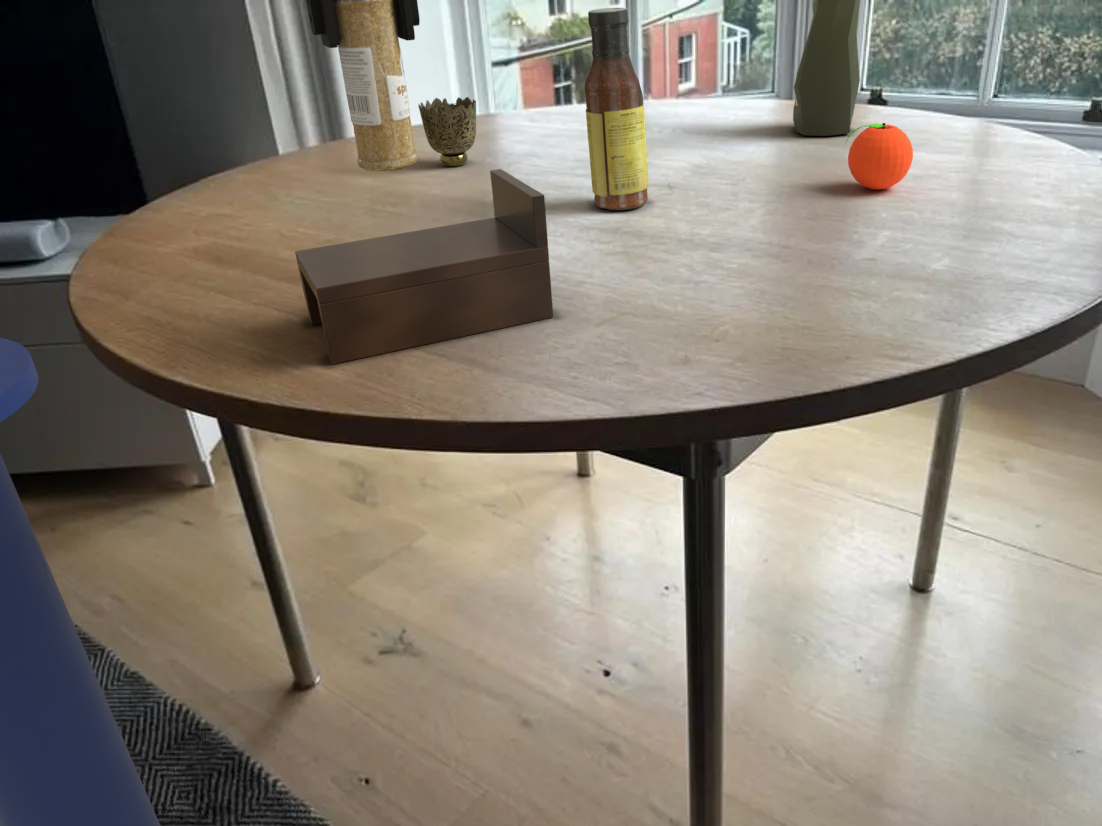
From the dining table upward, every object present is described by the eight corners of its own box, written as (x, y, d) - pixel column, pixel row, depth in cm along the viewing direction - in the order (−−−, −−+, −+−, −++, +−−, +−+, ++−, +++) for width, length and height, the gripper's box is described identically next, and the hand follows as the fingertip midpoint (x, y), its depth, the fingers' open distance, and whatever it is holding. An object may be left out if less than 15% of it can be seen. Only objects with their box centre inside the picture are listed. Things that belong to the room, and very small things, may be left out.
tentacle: (846, 122, 136) (867, -118, 121) (864, 140, 125) (889, -120, 110) (783, 124, 136) (796, -114, 121) (796, 143, 126) (811, -116, 111)
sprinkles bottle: (428, 165, 69) (401, -38, 63) (371, 176, 67) (336, -34, 60) (403, 155, 73) (374, -39, 66) (348, 165, 70) (312, -35, 64)
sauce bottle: (657, 199, 105) (654, 5, 95) (633, 214, 100) (628, 12, 90) (606, 194, 108) (598, 5, 98) (580, 209, 103) (569, 12, 93)
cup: (487, 157, 127) (481, 95, 123) (476, 170, 121) (469, 105, 117) (434, 158, 128) (426, 97, 124) (420, 171, 121) (411, 107, 117)
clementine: (825, 189, 105) (830, 124, 102) (857, 176, 110) (863, 113, 106) (889, 200, 100) (897, 132, 97) (920, 186, 105) (928, 120, 101)
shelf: (332, 364, 70) (305, 234, 65) (309, 320, 78) (283, 201, 73) (553, 317, 76) (544, 195, 71) (511, 281, 84) (500, 168, 79)
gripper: (435, -270, 62) (467, 27, 71) (166, -275, 56) (238, 49, 66) (469, -292, 56) (499, 35, 65) (172, -300, 51) (251, 60, 60)
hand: (368, 39), depth 65 cm, fingers closed on sprinkles bottle, 4 cm apart
